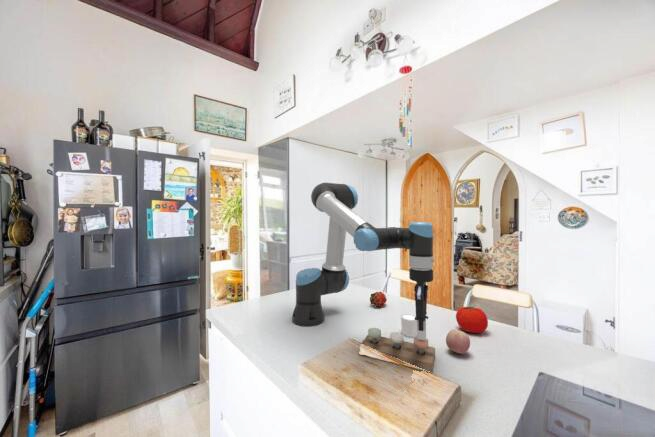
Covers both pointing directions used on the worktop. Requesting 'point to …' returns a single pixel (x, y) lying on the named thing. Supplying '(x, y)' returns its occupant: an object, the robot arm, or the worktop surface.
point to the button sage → (374, 334)
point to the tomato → (472, 319)
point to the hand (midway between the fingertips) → (421, 338)
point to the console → (404, 352)
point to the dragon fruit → (378, 299)
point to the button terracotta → (420, 345)
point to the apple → (458, 341)
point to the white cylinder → (409, 325)
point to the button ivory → (397, 339)
